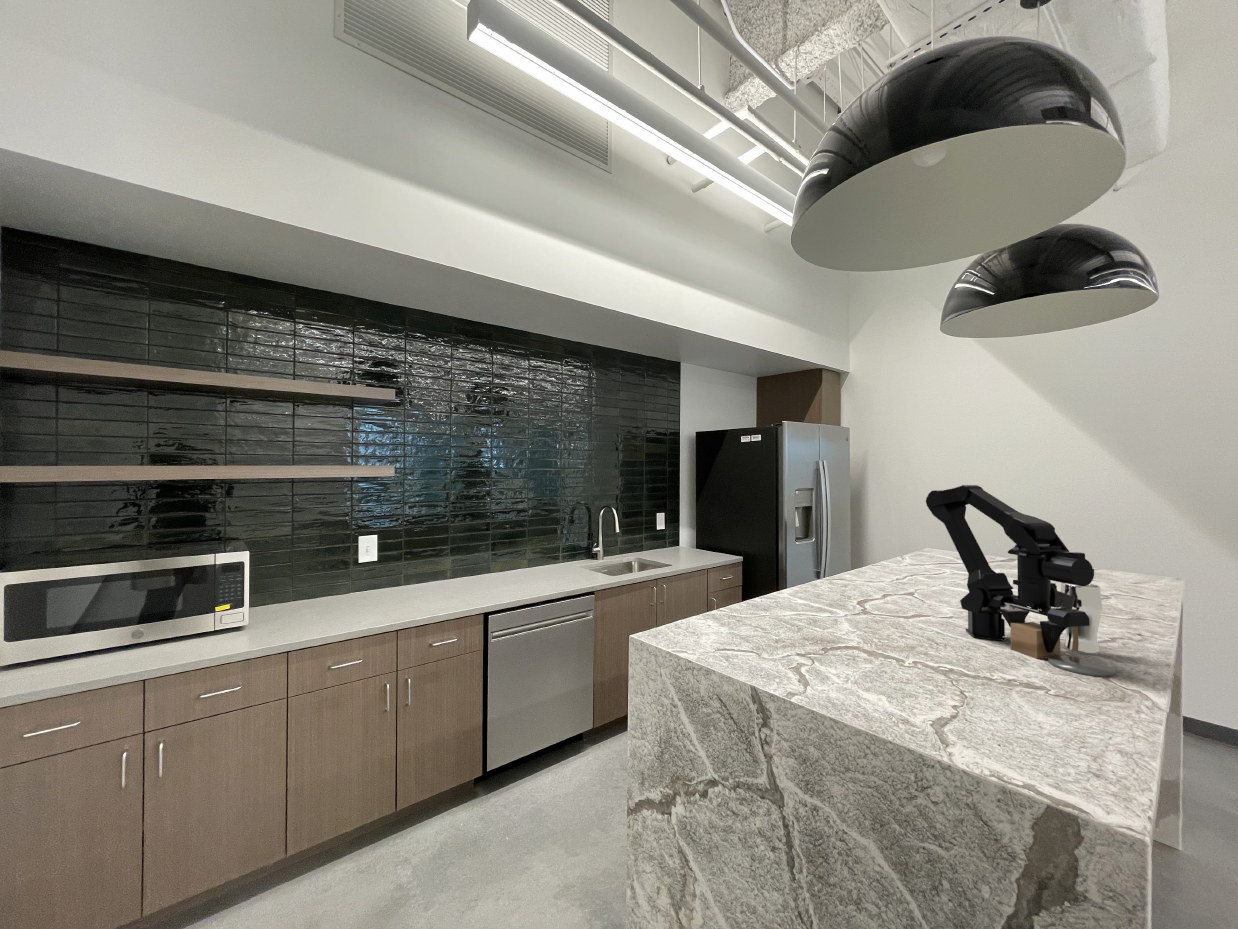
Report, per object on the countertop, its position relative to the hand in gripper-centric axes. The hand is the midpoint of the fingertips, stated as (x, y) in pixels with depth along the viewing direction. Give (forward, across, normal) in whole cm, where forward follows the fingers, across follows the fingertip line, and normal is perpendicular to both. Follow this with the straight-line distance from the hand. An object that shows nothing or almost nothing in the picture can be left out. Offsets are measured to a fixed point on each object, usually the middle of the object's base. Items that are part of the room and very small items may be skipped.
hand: (1035, 647), depth 111 cm
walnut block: (+1, 0, 0) cm, 1 cm away
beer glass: (+2, 0, -12) cm, 13 cm away
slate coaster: (+1, -8, -1) cm, 9 cm away
